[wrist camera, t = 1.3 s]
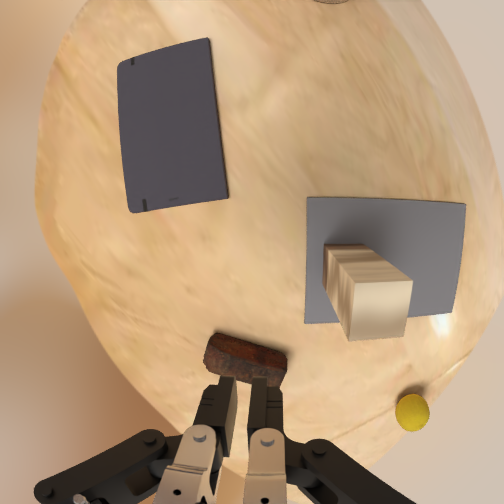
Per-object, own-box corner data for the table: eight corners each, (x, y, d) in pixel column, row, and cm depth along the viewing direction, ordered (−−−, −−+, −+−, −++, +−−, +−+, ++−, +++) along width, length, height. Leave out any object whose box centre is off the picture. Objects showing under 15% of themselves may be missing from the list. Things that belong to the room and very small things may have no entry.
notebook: (229, 198, 35) (210, 42, 30) (227, 199, 33) (207, 36, 28) (134, 213, 36) (122, 66, 31) (129, 214, 34) (116, 62, 30)
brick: (287, 351, 39) (288, 370, 34) (277, 372, 40) (277, 392, 35) (212, 329, 39) (205, 346, 34) (206, 351, 39) (199, 370, 35)
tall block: (323, 243, 34) (355, 283, 21) (363, 243, 34) (413, 280, 20) (322, 283, 35) (348, 341, 22) (360, 282, 35) (403, 336, 21)
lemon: (384, 407, 40) (397, 440, 32) (400, 383, 39) (417, 415, 31) (407, 410, 40) (422, 440, 33) (424, 386, 39) (442, 416, 31)
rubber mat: (306, 197, 33) (307, 197, 33) (464, 203, 32) (465, 204, 31) (304, 322, 37) (304, 323, 37) (450, 311, 36) (451, 312, 35)
